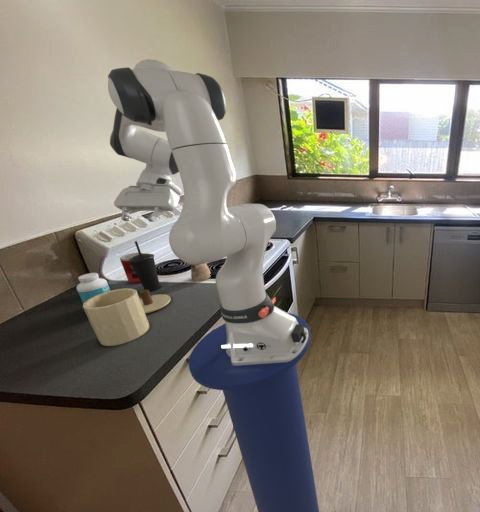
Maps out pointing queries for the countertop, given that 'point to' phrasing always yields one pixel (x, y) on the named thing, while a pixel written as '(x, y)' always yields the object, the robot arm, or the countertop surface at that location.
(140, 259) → the drinking cup
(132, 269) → the canned food
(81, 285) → the pill bottle
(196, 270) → the figurine
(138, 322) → the beige canister
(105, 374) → the countertop surface
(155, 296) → the lid
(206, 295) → the countertop surface
